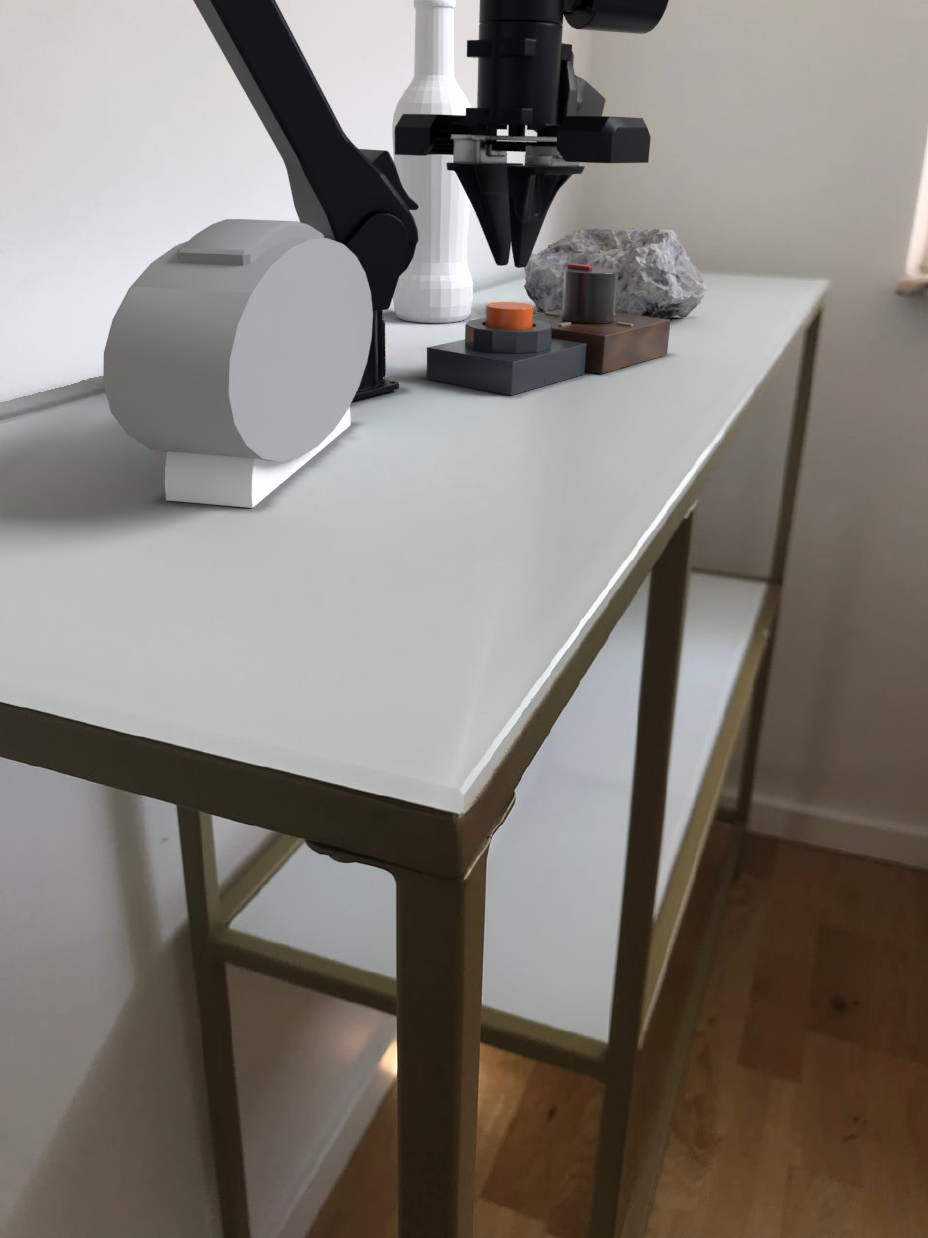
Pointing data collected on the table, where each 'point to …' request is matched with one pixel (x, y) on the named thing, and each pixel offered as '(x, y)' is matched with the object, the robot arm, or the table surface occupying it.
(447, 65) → the bottle
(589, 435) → the table surface
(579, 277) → the knob
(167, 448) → the alarm clock
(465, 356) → the button box
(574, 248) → the rock
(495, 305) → the button
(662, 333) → the panel
